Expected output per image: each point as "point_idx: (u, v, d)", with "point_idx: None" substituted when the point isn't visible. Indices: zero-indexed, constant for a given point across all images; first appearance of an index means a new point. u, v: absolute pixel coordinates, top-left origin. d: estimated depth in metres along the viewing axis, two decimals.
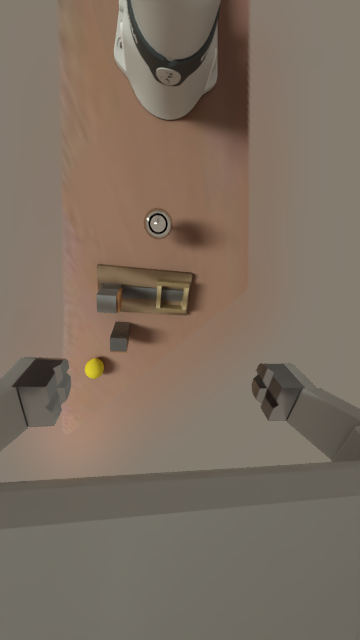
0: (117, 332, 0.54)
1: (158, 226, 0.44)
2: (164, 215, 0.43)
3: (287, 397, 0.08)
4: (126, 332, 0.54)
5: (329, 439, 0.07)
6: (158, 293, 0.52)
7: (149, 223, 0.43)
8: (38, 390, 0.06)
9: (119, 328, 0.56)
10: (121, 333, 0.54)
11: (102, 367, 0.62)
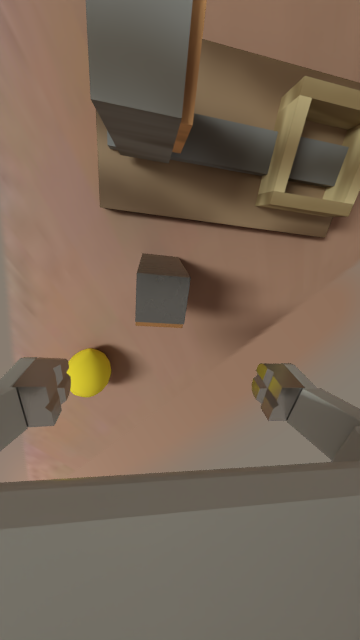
0: (155, 266, 0.18)
1: None
2: None
3: (287, 397, 0.08)
4: (181, 268, 0.18)
5: (329, 439, 0.07)
6: (294, 131, 0.16)
7: None
8: (38, 390, 0.06)
9: (157, 261, 0.20)
10: (168, 268, 0.17)
11: (107, 370, 0.26)
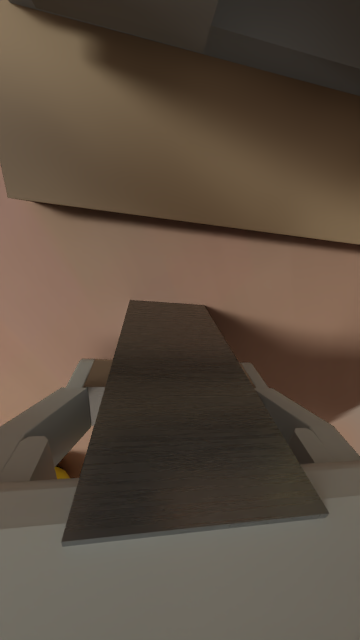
0: (160, 385, 0.05)
1: None
2: None
3: None
4: (238, 380, 0.06)
5: None
6: None
7: None
8: None
9: (163, 341, 0.07)
10: (203, 397, 0.05)
11: None
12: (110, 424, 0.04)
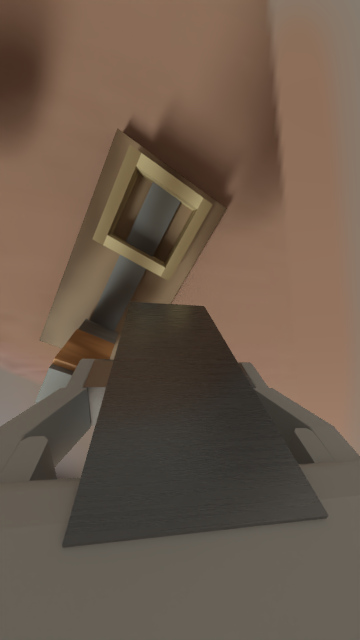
0: (160, 387, 0.05)
1: None
2: None
3: None
4: (238, 382, 0.06)
5: None
6: (125, 253, 0.19)
7: None
8: None
9: (163, 342, 0.07)
10: (203, 399, 0.05)
11: None
12: (110, 427, 0.04)
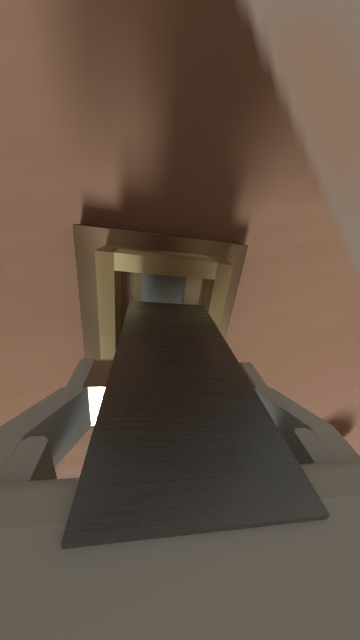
0: (160, 386, 0.05)
1: None
2: None
3: None
4: (238, 381, 0.06)
5: None
6: None
7: None
8: None
9: (163, 341, 0.07)
10: (203, 398, 0.05)
11: None
12: (110, 425, 0.04)
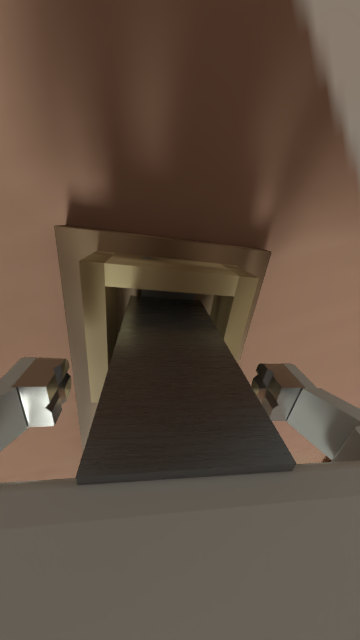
0: (157, 367, 0.06)
1: None
2: None
3: (287, 397, 0.08)
4: (228, 364, 0.07)
5: (329, 439, 0.07)
6: None
7: None
8: (39, 390, 0.06)
9: (161, 331, 0.08)
10: (195, 377, 0.06)
11: None
12: (113, 396, 0.05)
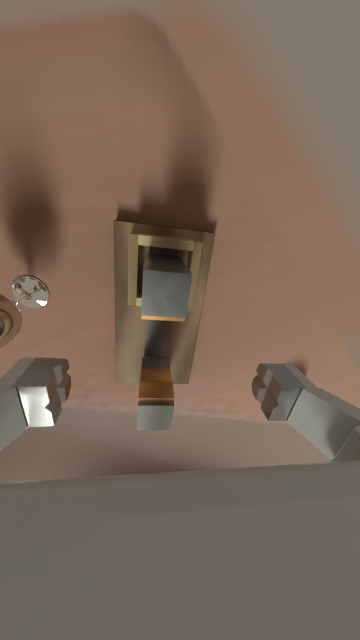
0: (159, 264, 0.19)
1: None
2: None
3: (287, 397, 0.08)
4: (183, 266, 0.20)
5: (329, 439, 0.07)
6: None
7: None
8: (39, 390, 0.06)
9: (161, 260, 0.21)
10: (171, 266, 0.19)
11: None
12: (147, 265, 0.18)
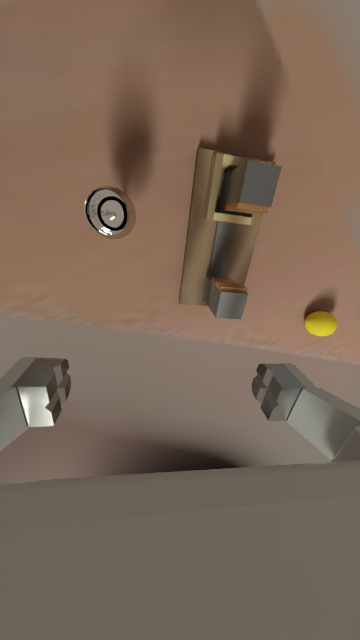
0: None
1: (119, 213, 0.28)
2: (100, 201, 0.26)
3: (287, 397, 0.08)
4: None
5: (329, 439, 0.07)
6: (226, 219, 0.31)
7: (116, 228, 0.28)
8: (38, 390, 0.06)
9: None
10: None
11: (323, 314, 0.43)
12: None
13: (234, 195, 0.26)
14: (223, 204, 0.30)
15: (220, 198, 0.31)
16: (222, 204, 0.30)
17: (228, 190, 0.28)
